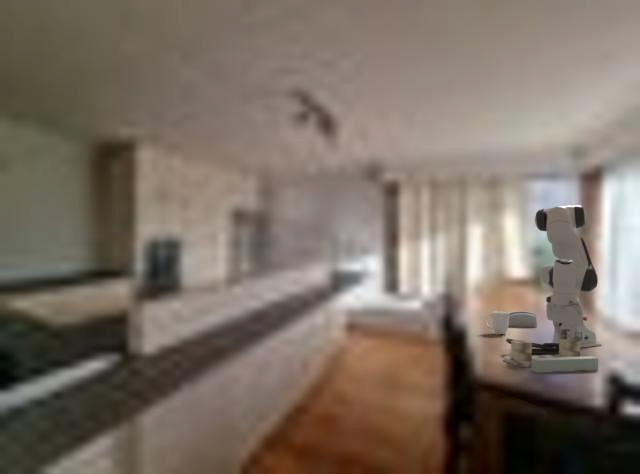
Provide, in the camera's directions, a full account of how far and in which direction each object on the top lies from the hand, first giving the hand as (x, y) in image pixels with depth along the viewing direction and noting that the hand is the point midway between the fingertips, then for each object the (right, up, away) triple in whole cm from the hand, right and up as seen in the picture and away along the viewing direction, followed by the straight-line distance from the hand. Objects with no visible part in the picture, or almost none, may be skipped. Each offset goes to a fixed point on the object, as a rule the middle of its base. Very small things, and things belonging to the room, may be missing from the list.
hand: (564, 334), depth 227 cm
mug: (-2, -13, +79) cm, 80 cm away
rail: (0, -14, 0) cm, 14 cm away
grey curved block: (+20, -13, +103) cm, 106 cm away
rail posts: (-2, -14, +14) cm, 20 cm away
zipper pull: (-1, -14, +28) cm, 31 cm away
